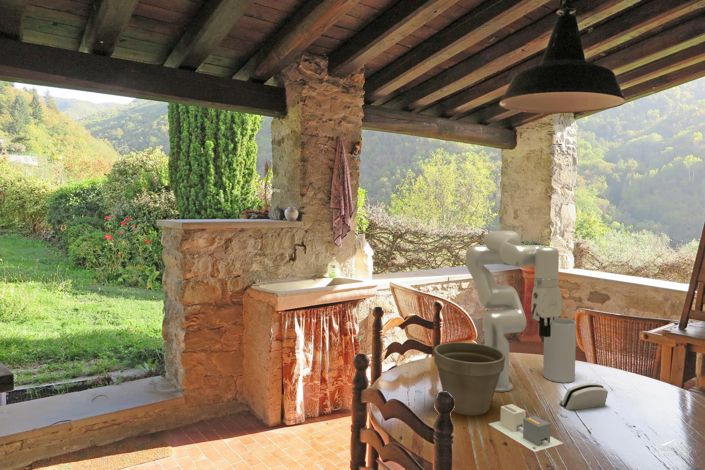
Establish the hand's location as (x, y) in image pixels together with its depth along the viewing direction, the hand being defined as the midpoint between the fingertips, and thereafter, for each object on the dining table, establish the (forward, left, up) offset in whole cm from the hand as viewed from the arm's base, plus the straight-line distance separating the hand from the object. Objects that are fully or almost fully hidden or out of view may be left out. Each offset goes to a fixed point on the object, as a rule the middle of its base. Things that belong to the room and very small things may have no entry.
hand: (545, 335), depth 161 cm
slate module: (+12, -16, -28) cm, 34 cm away
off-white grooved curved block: (-1, +22, -30) cm, 37 cm away
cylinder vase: (-26, +37, -29) cm, 54 cm away
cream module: (+2, -16, -28) cm, 32 cm away
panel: (+7, -16, -29) cm, 34 cm away
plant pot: (-17, -19, -29) cm, 39 cm away
